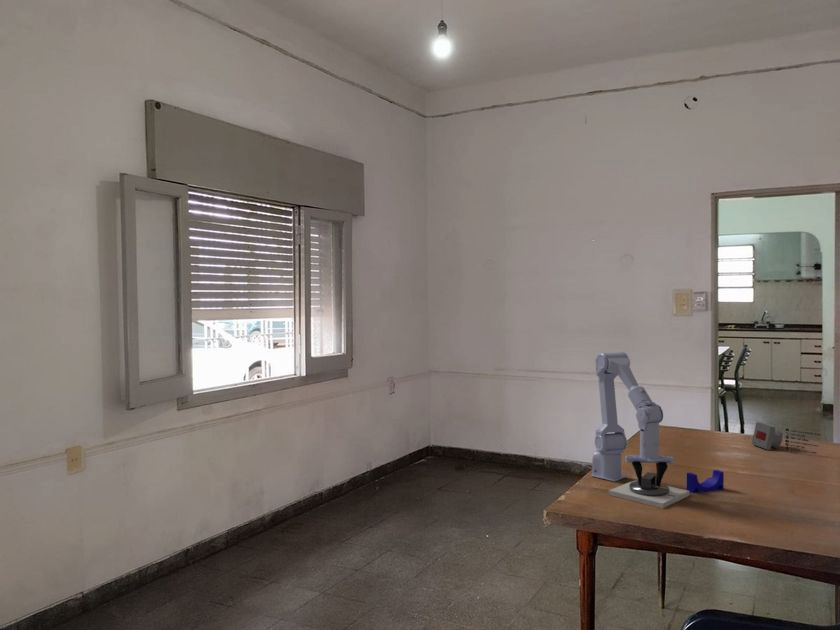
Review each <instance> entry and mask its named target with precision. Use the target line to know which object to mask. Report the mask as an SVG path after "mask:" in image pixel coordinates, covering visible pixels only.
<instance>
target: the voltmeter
mask: <svg viewBox="0 0 840 630" xmlns="http://www.w3.org/2000/svg"><path fill="white" fill-rule="evenodd" d="M785 431H786V434H787V435H785V438H786V439H785V444H784V445H785V446H786V447H785V450H787V451H788V450H790V453H791V454H793V451H796V452H794V454H798V452H803V450H800V449H796V448H801V449H805V447H804V446H808V443H805V442H808V439H805V437H806V435H803V431H799V430H798V431H797V430H794V429H793V430H791V432H794V433H791V436H795V437H796V436H797V437H800V438H795V437H789V435H790V433H788V432H789V431H790V429H789V428H785ZM787 431H788V432H787ZM797 432H798V434H795V433H797ZM799 433H801V435H800V434H799ZM804 434H807V435H808V432H804ZM809 435H814V436H821V435H822V434H821V433H820V434H819V433H813V432H809ZM802 437H803V438H804V439H802ZM821 437H822V436H821ZM789 438H790V439H791V440H792V439H793V440H797V441H791V440H789ZM798 441H803V442H798ZM804 441H805V442H804ZM782 442H783V432H781V430H779V429H777V428H776V427H775V426H772V425H770V424H767V423H763V422H757V421H756V423H755V427H754V431H753V437H752V441H751V445H754V446H756V447H759V448H762V449H765V450H766V451H769V450H770V451H771V450H773V449H777V448H779V447H780V446H781V444H782ZM790 443H794V444H790ZM795 444H800V445H795ZM802 445H804V446H802ZM789 446H790V447H789ZM809 446H813V447H819V445H817V444H812V443H811V444H810V443H809ZM772 447H773V448H772ZM791 447H796V448H791ZM792 450H793V451H792ZM804 453H810V454H817V452H815V451H807V450H804Z"/></svg>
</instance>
